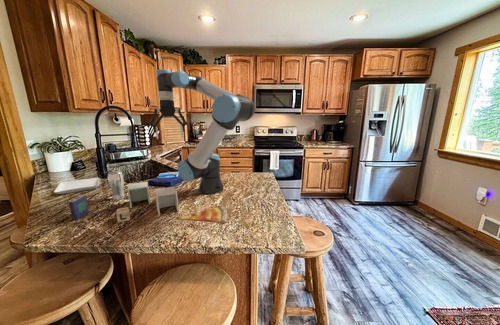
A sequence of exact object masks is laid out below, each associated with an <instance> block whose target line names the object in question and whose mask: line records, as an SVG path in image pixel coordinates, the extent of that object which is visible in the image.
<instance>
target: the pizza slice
mask: <svg viewBox="0 0 500 325" xmlns="http://www.w3.org/2000/svg"><path fill="white" fill-rule="evenodd" d="M177 220H183V221H193V222H195V221H196V222H205V223H206V222H208V223H209V222H210V223H221V224H226V223H227V221H228V210H227V208H226V207H225V206H224V205H223V204H221V203H220V204H218V205H217V206H216V207H213V208H209V209H205V210H203V211H202V210H201V211H199V212H195V213H192V214H188V215H185V216H182V217H179V218H177Z"/></svg>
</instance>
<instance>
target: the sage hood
mask: <svg viewBox="0 0 500 325" xmlns="http://www.w3.org/2000/svg"><path fill="white" fill-rule="evenodd" d="M149 190H150V189H149V184H148V181H143V182H142V181H141V182H136V183H135V182H134V183H128V185H127V195H128V200H129V209H132V208H133V203H135V202H141V201H145V200H148V205H151V201H150V198H151V197H150V192H149Z"/></svg>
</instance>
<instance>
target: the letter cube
mask: <svg viewBox="0 0 500 325" xmlns="http://www.w3.org/2000/svg"><path fill="white" fill-rule="evenodd" d="M116 220H117V223H123V222H127V221H130V220H131V213H130V206H129V207H127V206H126V207H121V208H117V209H116Z"/></svg>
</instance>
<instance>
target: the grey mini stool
mask: <svg viewBox="0 0 500 325" xmlns="http://www.w3.org/2000/svg"><path fill="white" fill-rule="evenodd" d="M154 195H155V204H156V209H157V210H156V211H157V214H158V216H160V217H161V212H160V209H163V208H168V207H173V206H174V208H175V209H176V212H180V208H179V199H178V196H179V195H178V191H177V189H176V187H175V186H168V187H162V188H157V189H156V188H155V189H154Z"/></svg>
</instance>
